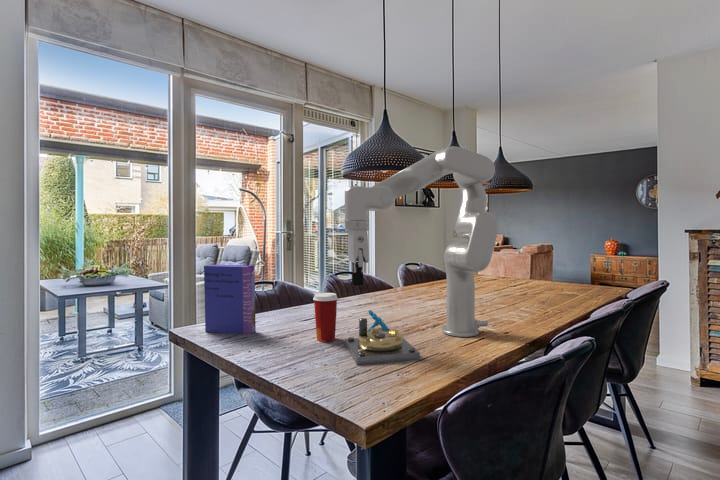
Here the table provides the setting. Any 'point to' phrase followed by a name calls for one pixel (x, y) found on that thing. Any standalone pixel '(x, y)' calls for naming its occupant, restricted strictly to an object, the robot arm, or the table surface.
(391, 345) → the brass paddle wheel
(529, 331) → the table surface
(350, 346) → the base plate
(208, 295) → the blue book
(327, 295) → the coffee cup
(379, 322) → the gear
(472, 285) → the robot arm
